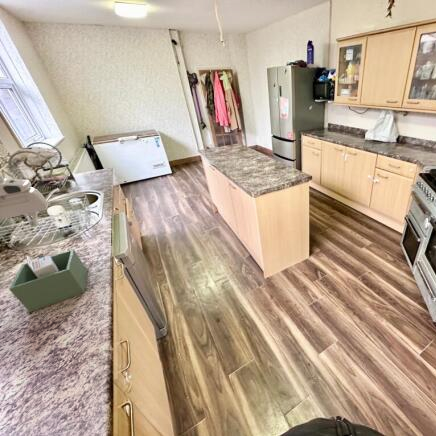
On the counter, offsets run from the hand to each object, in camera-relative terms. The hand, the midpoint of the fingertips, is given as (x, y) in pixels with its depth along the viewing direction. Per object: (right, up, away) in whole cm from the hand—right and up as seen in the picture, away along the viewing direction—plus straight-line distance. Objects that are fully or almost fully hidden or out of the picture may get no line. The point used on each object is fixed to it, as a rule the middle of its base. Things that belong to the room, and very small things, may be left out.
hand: (15, 229), depth 75 cm
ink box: (+3, -22, +12) cm, 25 cm away
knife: (-17, -17, +24) cm, 34 cm away
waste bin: (+3, -23, +12) cm, 26 cm away
